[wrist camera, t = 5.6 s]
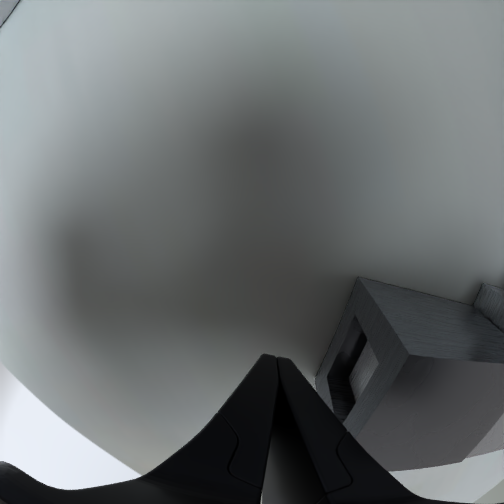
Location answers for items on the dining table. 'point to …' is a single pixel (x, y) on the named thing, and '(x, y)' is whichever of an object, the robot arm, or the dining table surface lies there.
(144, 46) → the dining table surface
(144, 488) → the robot arm
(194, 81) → the dining table surface
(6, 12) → the ramekin
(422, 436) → the socket
